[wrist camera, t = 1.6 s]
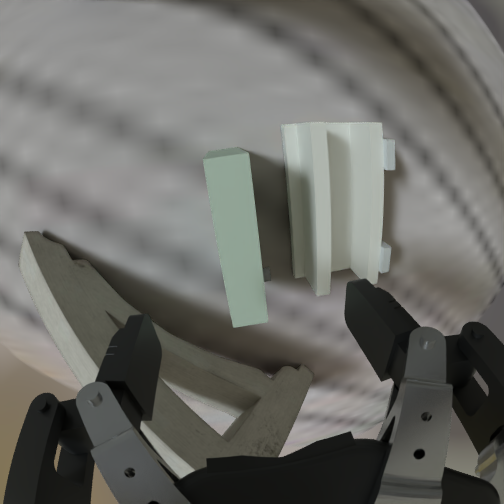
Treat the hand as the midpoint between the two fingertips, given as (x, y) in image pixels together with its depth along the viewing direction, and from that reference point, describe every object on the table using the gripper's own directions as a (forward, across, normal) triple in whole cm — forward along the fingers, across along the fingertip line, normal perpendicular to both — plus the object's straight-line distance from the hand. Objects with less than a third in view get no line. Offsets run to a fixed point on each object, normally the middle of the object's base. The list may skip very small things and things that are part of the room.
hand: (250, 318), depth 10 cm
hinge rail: (+14, -9, 0) cm, 17 cm away
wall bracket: (+15, +8, +11) cm, 20 cm away
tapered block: (+14, 0, 0) cm, 15 cm away
